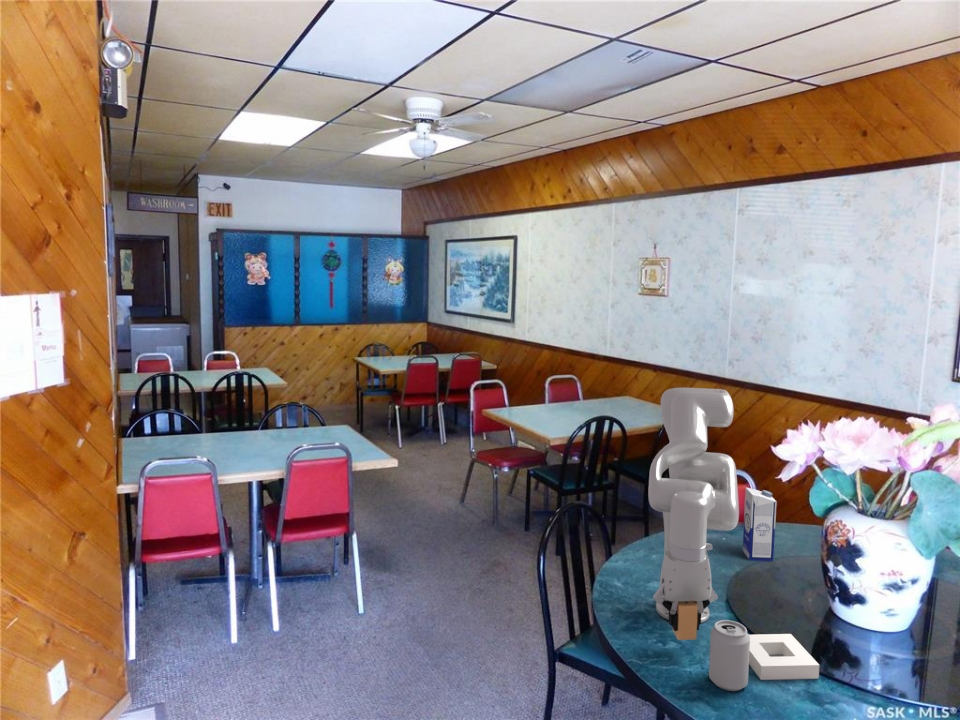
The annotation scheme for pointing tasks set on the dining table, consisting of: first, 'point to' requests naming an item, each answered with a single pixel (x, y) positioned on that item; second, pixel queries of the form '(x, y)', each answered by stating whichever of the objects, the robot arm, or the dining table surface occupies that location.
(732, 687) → the can
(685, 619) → the charger
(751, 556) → the milk carton
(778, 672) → the outlet plate
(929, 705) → the dining table surface
